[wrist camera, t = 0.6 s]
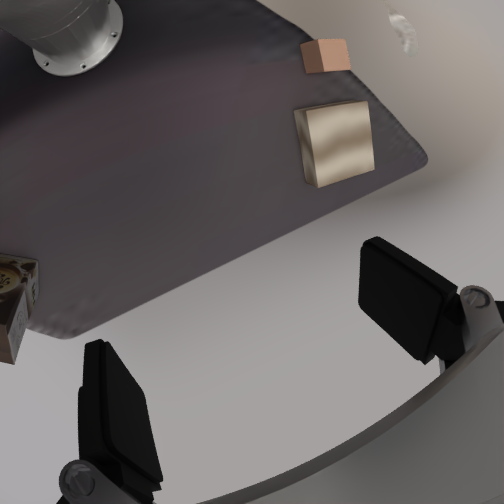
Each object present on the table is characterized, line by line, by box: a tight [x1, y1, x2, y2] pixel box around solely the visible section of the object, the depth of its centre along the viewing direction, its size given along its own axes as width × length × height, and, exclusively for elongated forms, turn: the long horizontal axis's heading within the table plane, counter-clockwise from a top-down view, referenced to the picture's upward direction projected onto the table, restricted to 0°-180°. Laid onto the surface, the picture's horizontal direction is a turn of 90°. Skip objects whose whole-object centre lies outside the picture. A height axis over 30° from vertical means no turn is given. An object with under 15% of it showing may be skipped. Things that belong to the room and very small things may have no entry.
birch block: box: [294, 100, 374, 188], centre depth 44 cm, size 12×12×4 cm
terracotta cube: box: [300, 39, 351, 74], centre depth 37 cm, size 5×5×5 cm
